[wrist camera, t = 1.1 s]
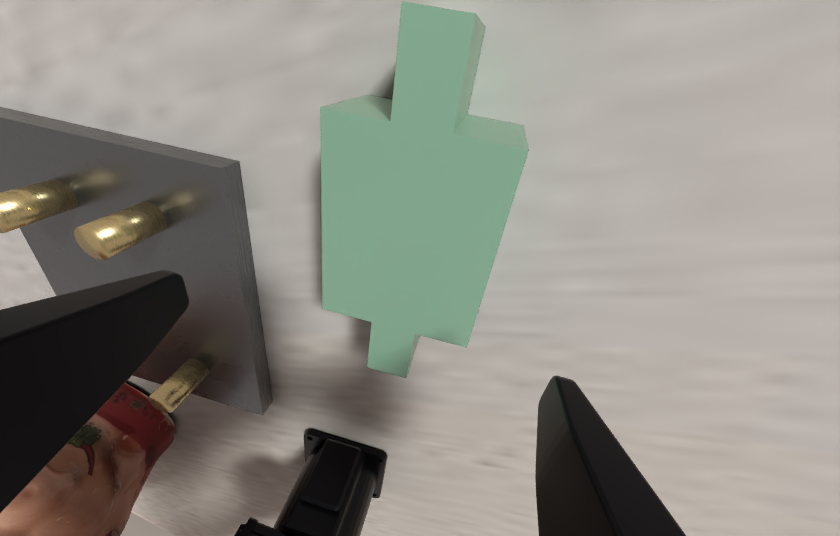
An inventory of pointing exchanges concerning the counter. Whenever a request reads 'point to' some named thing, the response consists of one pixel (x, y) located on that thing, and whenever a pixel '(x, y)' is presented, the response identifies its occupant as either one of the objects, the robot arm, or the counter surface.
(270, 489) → the counter surface
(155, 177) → the plate
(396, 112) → the mint green pegged block
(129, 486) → the sculpted terracotta mug
